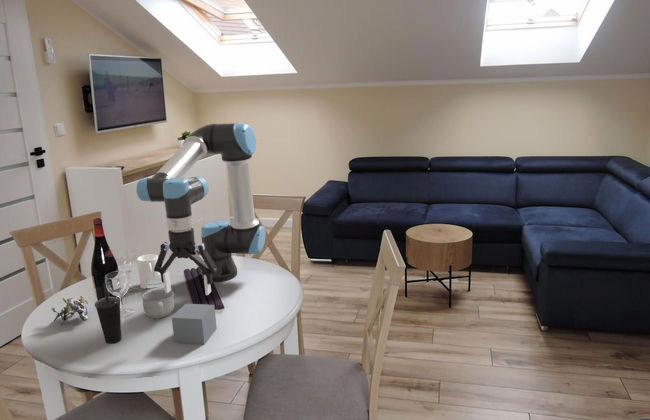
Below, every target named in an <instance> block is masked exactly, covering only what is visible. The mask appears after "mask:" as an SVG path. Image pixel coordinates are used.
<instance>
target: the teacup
mask: <svg viewBox="0 0 650 420" xmlns="http://www.w3.org/2000/svg"><path fill="white" fill-rule="evenodd" d="M141 298H142V306H143V311H144V313H145V314H146V315H147V316H149V317H150V318H153V319H162V318H165V317H167V316H169V315H170V314H171V313H172V312H173V310H174V307H175V292H174V291H173V290H171V291H170V292H168V293H165V288H163V289H162V288H161V289H160V288H157V289H153V290H148V291H146V292H145V293H143V294H142V296H141Z"/></svg>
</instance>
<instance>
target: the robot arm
mask: <svg viewBox="0 0 650 420" xmlns="http://www.w3.org/2000/svg"><path fill="white" fill-rule="evenodd" d="M256 145H257V140H256V136H255V132H254V131H253V129H252V127H251V126H250V125H249V124H246V123H239V122H236V123H235V122H234V123H231V122H230V123H210V124H206V125H203V126H201V127H199V128H197V129H195V130H194V131H193V132H191V133H189V135H188V136H187V137H185V138H184V140H183V142H182V146H181V147H180V148H179V149H178V150H177V151H176V152H175V153H174V154H173V155H172V156H171V158H169V159H168V161H167V162H165V164H163V165H162V167H160V168H159V170H158V171H157V172H156V173H154V175H153V176H152V177H150V178H149V177H146V178H141V179H139V180H138V182H137V184H136V187H135V188H136V194H137V198H138V199H139V200H140V201H143V202H150V203H153V202H155V203H157V202H161V203H162V202H164V207H165V208H164V209H165V216H166V223H167V229H168V242H169V243H168V242H167V241H164V242H162V244H161V245H160V251H159V255H158V259H157V262H156V265H155V268H154V271H155V272H159V273H160V277H161V281H162V284H163V285H164V289H165V293H168V292H170V291H172V284H171V277H170V271H169V270H168V269H169V267H170V266H171V265H172V263H173V262H174V261H175V259H176V258H178V259H190V260H191V261H193V262H194V263H195V265H197V267H198V268H199V269H200V270H201V271H200V275H202V276H203V277H204V280H203V283H204V292H205V296H209V294H210V293H211V292H212V288H211V287H212V286H211V285H212V284H213V283H216V282H217V283H219V282H224V281H229V280H232V279H234V278H235V277H236V276H237V275H238V267H237V266H236V263H235V260H234V259H233V257H232V254H239V255H241V254H242V255H258V254H260V253H261V252H262V250H263V249H264V246H265V243H266V234H267V233H266V228H265V226H263V225H260V220H259V219H258V218H257V217H256V215H255V205H254V196H253V189H252V179H251V178H252V177H251V171H250V161H251V159H252V158H253V154H255V152H256V150H257V146H256ZM208 155H220V156H221V160H222V161H223V163H225V164H226V170H227V177H228V178H227V179H228V184H229V185H228V186H229V194H230V201H231V208H232V215H233V217H232V218H233V221H231V223H230V222H229V221H228V220H217V221H212V222H208V223H206V224H204V225H203V226H202V227H201V230H200V237H201V243H200V244H199V243H198V244H196V241H195V232H194V228H193V227H194V221H193V215H192V205H193V204H195V203H197V202H198V201H201V200H203V198H205V197H206V196H207V195H208V192H209V185H208V182H207V180H205V178H203V177H201V176H192V177H190V178H184V177H185V176H186V175H187V173H188V172H189V171H190V170H191V169H192V168H193V167H194V166H195V164H196V163H197V162H198V161H199V160H202V159H204V158H205V157H206V156H208ZM168 250H170V251H171V252H172V253H171V255H170V256H169V257H168V259H167V260H166V261H165V258H166V255H167V253H168ZM196 250H197V251H198V252H197V251H196ZM200 256H201V257H200ZM164 261H165V263H164ZM163 263H164V264H163Z"/></svg>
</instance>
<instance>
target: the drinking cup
mask: <svg viewBox="0 0 650 420" xmlns="http://www.w3.org/2000/svg"><path fill="white" fill-rule="evenodd" d="M103 290H104V296H105V297H103V298H100V299H98V300H97V301H96V302H94V307H95V308H96V312H97V315H98V320H99V324H100V326H101V330H102V334H103V338H104V341H105V343H106V344H108V345H113V344H117V343H119V342H121V340H122V324H121V323H122V322H121V304H120V303H121V298H120V297H116V296H108V290H107V283H106V282H103Z"/></svg>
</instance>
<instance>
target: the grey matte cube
mask: <svg viewBox="0 0 650 420" xmlns="http://www.w3.org/2000/svg"><path fill="white" fill-rule="evenodd" d="M171 323H172V332H173V339H174V344H175V343H176V344H177V343H178V344H193V345H206V343H207V342H208V340H209V339H210V338H211V337H212V336H213V334H214V333H215V332H216V330H217V329H218V328H217V327H218V326H217V319H216V309H215V304H204V303H203V304H202V303H199V304H198V303H185V304H184V305H182V307H181V308H180V309H179V310H177V311H176V313H174V315H173V316H172V317H171Z"/></svg>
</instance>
